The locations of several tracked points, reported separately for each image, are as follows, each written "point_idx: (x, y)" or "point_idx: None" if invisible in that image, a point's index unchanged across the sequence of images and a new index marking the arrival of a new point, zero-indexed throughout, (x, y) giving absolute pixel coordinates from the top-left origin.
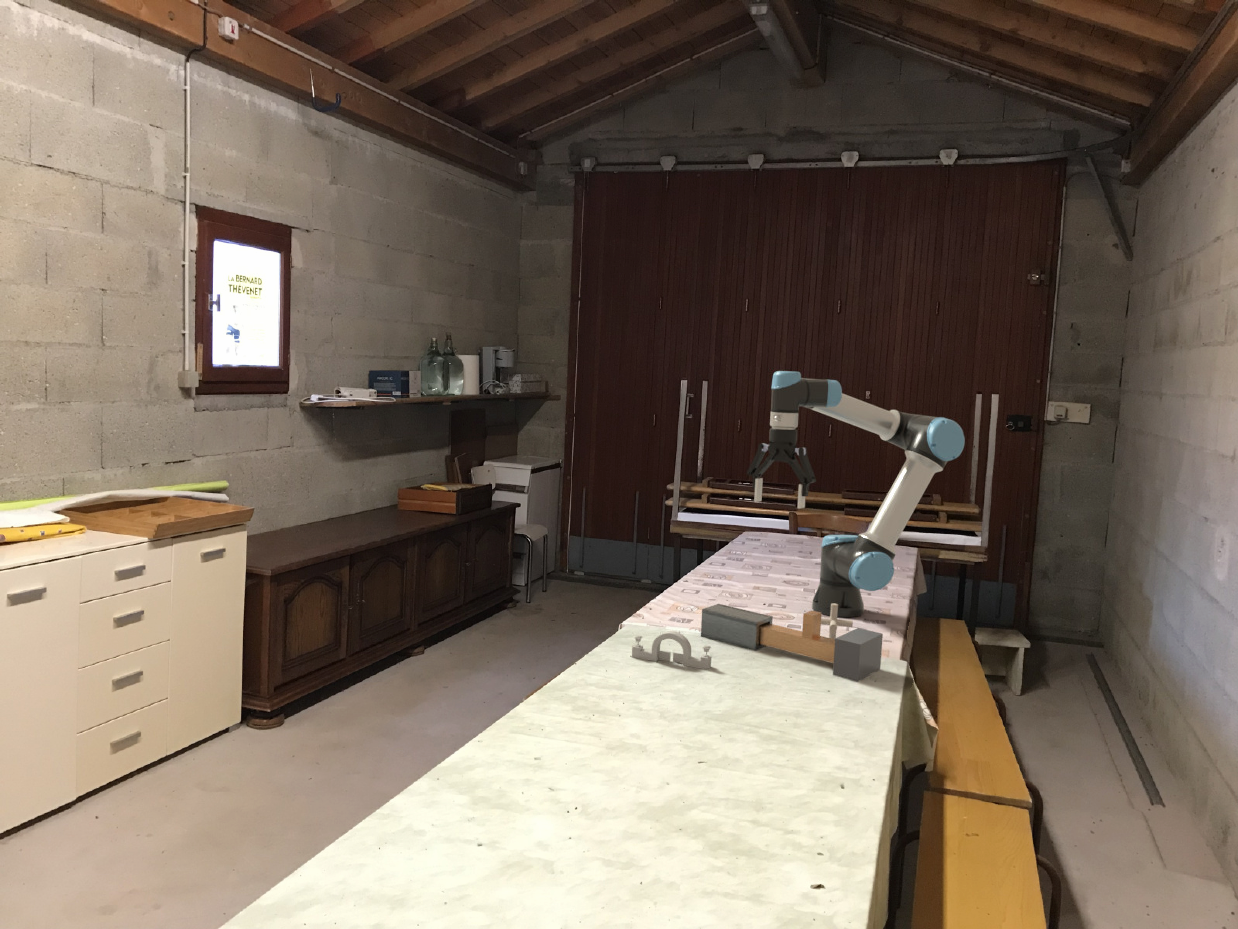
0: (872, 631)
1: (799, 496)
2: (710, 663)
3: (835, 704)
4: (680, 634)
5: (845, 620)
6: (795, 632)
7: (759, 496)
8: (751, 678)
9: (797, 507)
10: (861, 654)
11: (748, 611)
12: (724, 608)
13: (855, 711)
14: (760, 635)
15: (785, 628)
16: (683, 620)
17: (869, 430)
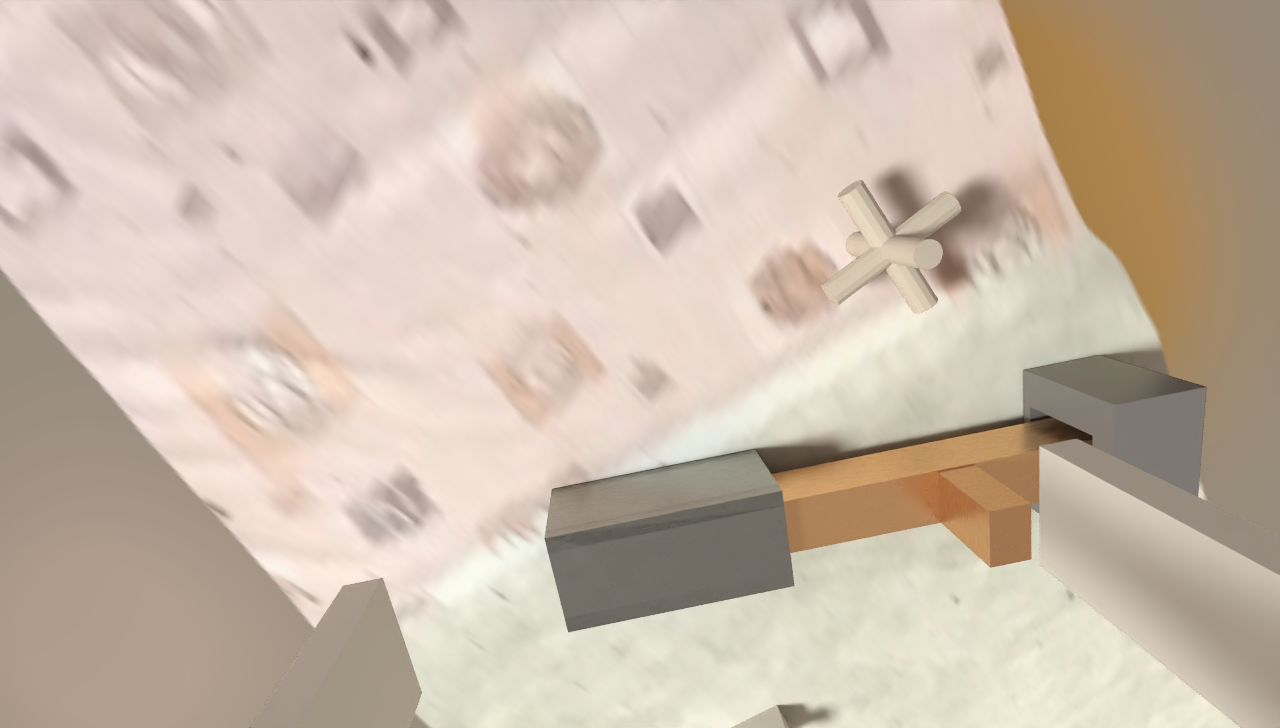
0: (1169, 396)
1: (1218, 683)
2: (782, 717)
3: (1120, 642)
4: None
5: (937, 224)
6: (898, 503)
7: (373, 688)
8: (896, 681)
9: (1047, 571)
10: None
11: (685, 517)
12: (605, 562)
13: None
14: None
15: (850, 498)
16: (400, 505)
17: None
